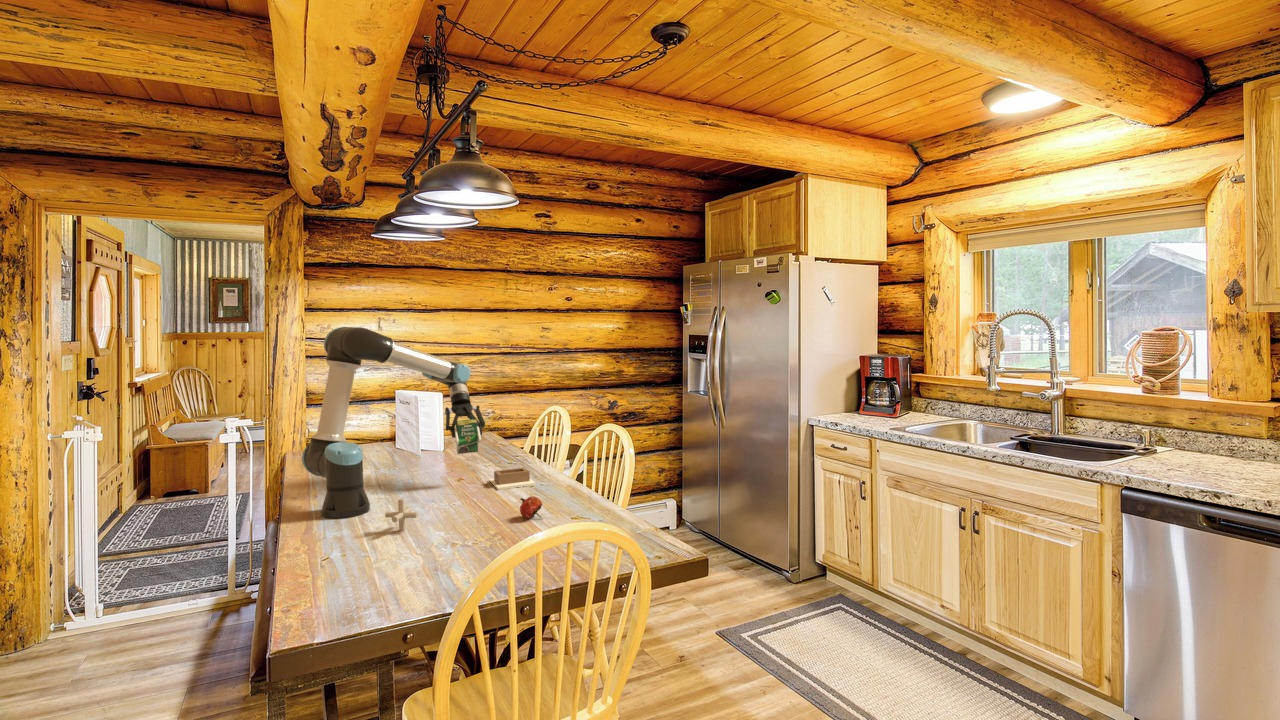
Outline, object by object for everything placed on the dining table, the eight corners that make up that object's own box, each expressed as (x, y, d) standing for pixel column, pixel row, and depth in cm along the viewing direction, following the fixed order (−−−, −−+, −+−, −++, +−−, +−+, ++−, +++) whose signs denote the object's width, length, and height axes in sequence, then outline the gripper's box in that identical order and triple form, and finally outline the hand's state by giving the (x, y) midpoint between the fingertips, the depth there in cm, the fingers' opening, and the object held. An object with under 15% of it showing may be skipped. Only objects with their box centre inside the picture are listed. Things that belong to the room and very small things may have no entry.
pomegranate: (544, 521, 218) (525, 501, 221) (553, 507, 215) (533, 486, 218) (530, 530, 212) (510, 509, 215) (539, 515, 209) (518, 494, 212)
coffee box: (457, 454, 254) (457, 421, 253) (456, 452, 257) (455, 420, 256) (478, 452, 258) (477, 419, 257) (476, 451, 261) (475, 418, 260)
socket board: (535, 485, 257) (535, 472, 256) (498, 490, 250) (497, 477, 250) (524, 477, 270) (524, 465, 270) (488, 481, 263) (488, 469, 263)
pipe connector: (424, 525, 208) (423, 495, 208) (410, 536, 198) (409, 504, 198) (394, 525, 209) (393, 494, 209) (379, 535, 199) (378, 503, 199)
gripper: (483, 401, 275) (493, 445, 261) (432, 404, 265) (440, 450, 252) (486, 390, 270) (496, 434, 256) (434, 392, 260) (442, 439, 247)
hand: (468, 442), depth 254 cm, fingers closed on coffee box, 8 cm apart
